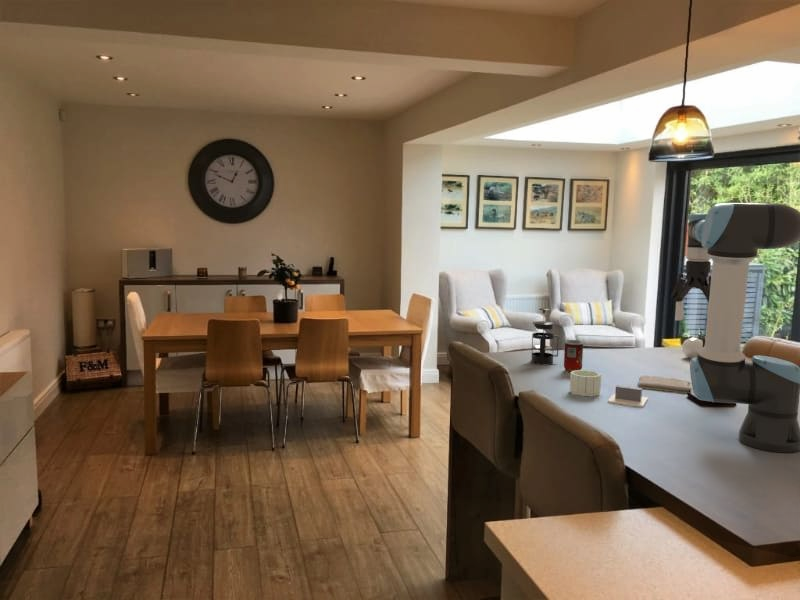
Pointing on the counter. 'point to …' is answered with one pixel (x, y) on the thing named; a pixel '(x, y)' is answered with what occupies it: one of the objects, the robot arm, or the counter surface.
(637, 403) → the cover
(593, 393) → the cream round tub
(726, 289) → the robot arm
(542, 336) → the french press
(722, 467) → the counter surface
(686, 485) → the counter surface
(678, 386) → the washcloth
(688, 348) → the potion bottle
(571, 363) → the soda can
